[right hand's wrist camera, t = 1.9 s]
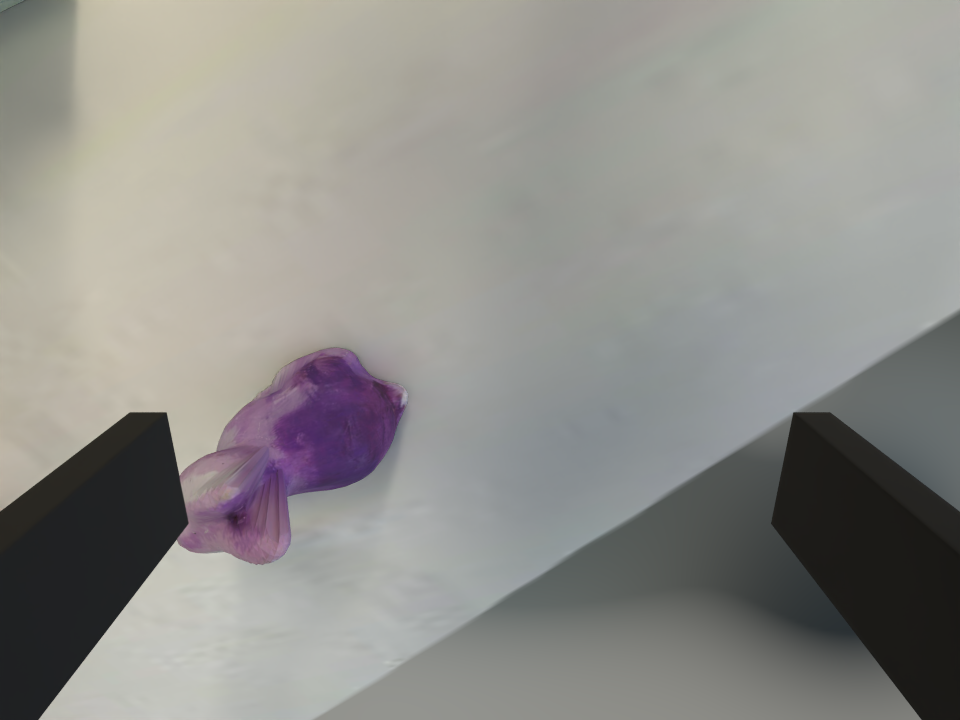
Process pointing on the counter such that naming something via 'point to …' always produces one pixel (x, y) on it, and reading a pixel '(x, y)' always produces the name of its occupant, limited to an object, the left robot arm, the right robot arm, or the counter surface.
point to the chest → (8, 4)
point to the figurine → (288, 453)
